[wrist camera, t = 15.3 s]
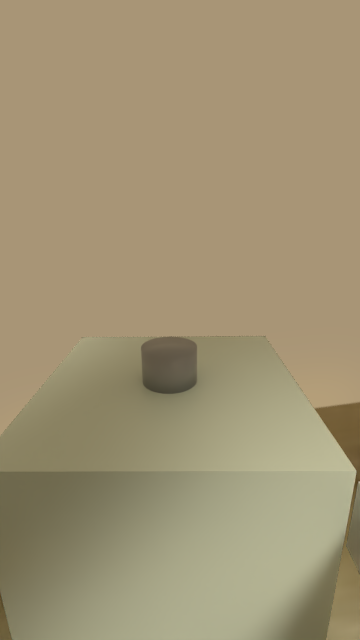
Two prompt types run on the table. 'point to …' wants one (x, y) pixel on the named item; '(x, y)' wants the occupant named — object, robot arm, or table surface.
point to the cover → (171, 497)
